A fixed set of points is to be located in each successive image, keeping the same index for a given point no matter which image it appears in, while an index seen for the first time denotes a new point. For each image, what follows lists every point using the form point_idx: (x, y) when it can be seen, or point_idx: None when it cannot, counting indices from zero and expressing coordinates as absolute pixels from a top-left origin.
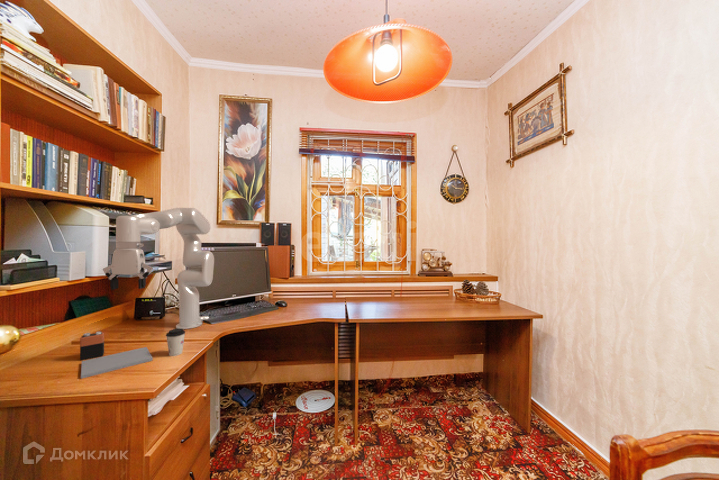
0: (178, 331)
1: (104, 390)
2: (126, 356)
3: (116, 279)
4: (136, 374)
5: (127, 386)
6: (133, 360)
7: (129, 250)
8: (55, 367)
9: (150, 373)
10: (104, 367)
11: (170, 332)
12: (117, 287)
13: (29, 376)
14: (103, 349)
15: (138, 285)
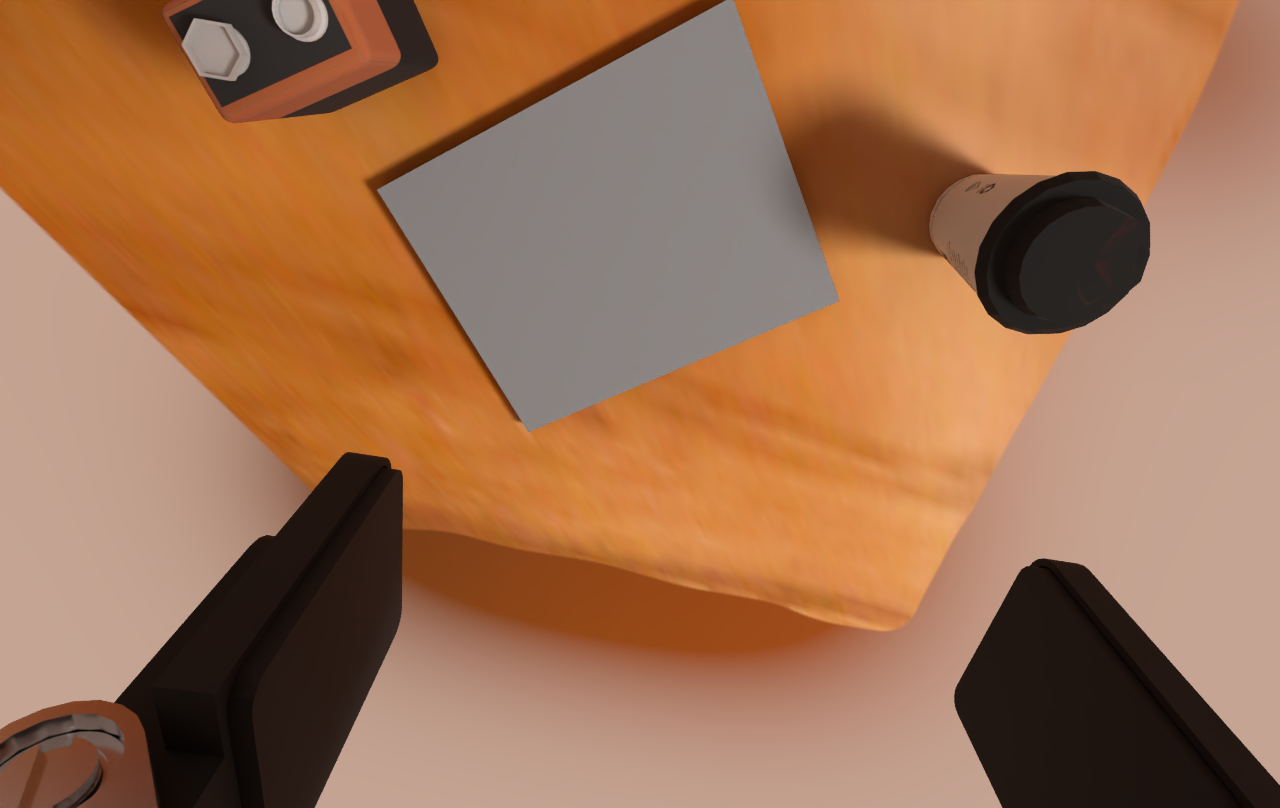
0: (1101, 308)
1: (707, 573)
2: (650, 201)
3: (267, 771)
4: (793, 465)
5: (790, 569)
6: (727, 303)
7: None
8: (246, 192)
9: (860, 477)
10: (595, 359)
11: (1031, 311)
12: (393, 505)
13: (209, 295)
14: (419, 43)
15: (986, 771)
